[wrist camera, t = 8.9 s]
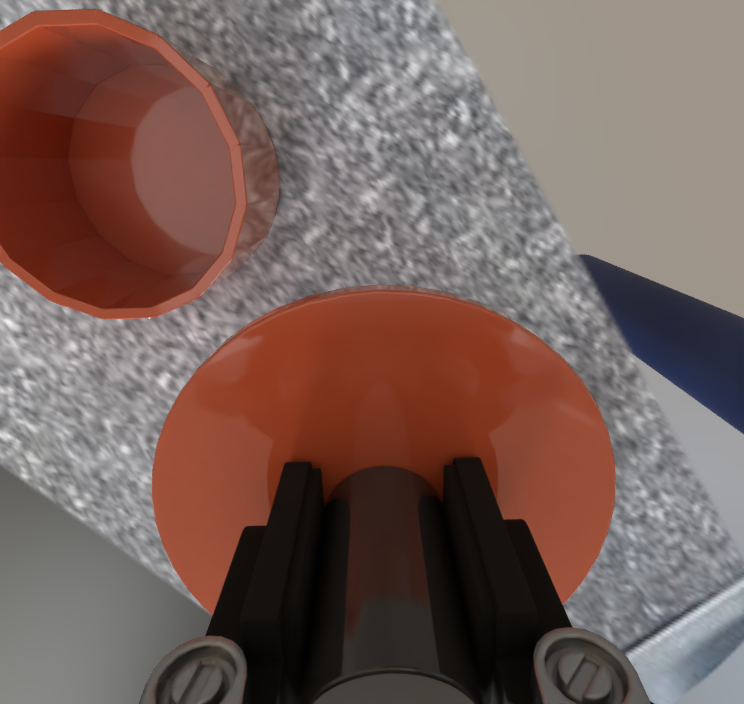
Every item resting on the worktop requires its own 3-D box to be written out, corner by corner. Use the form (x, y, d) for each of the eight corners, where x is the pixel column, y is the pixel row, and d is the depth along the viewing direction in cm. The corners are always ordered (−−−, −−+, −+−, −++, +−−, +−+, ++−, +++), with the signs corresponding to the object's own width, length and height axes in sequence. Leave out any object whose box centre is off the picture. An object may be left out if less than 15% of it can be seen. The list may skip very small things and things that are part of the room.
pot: (268, 52, 21) (224, 3, 14) (288, 277, 24) (259, 315, 18) (43, 59, 21) (-95, 15, 15) (93, 282, 24) (-2, 322, 18)
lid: (625, 270, 10) (903, 384, 5) (570, 635, 14) (696, 931, 8) (131, 284, 10) (-127, 413, 5) (204, 643, 14) (99, 943, 8)
